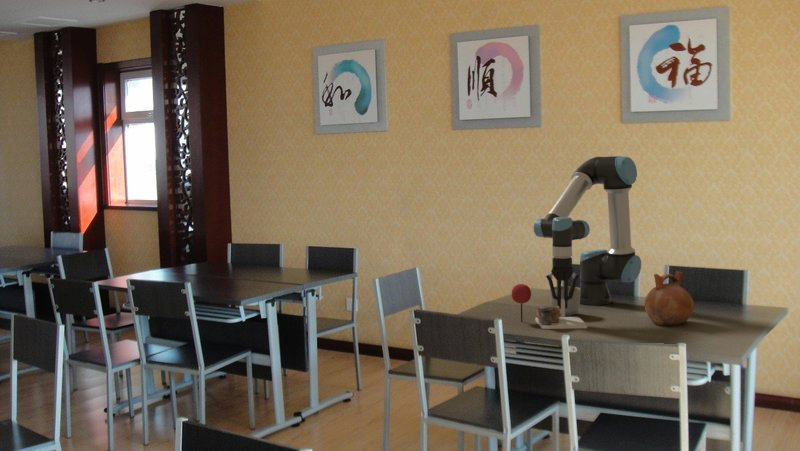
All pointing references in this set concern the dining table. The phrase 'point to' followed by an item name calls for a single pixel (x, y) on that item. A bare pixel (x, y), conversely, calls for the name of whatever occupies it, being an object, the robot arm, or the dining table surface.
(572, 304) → the planter
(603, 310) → the dining table surface
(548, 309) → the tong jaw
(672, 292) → the jug
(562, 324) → the board
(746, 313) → the dining table surface
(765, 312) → the dining table surface
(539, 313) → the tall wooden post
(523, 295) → the lollipop
